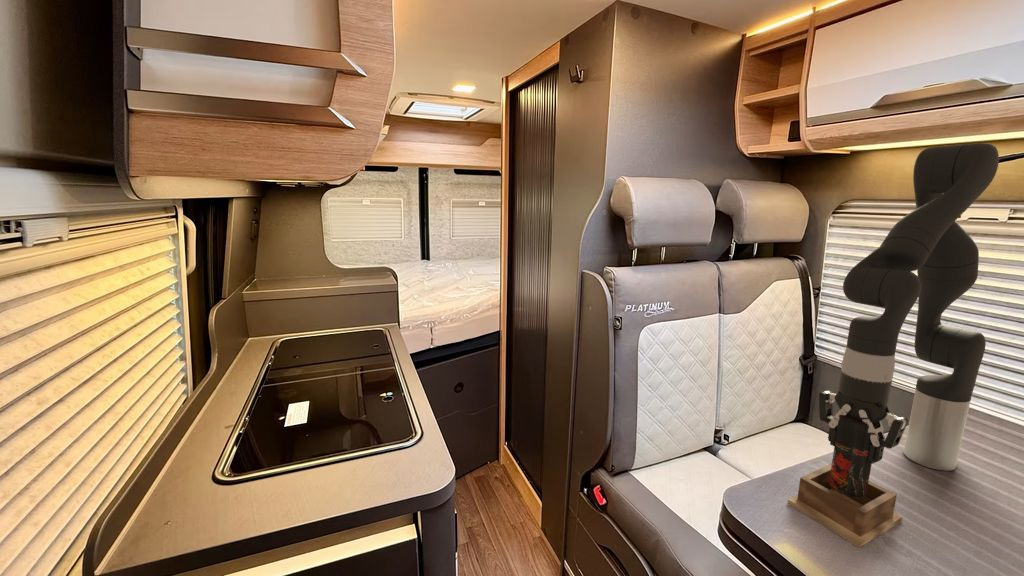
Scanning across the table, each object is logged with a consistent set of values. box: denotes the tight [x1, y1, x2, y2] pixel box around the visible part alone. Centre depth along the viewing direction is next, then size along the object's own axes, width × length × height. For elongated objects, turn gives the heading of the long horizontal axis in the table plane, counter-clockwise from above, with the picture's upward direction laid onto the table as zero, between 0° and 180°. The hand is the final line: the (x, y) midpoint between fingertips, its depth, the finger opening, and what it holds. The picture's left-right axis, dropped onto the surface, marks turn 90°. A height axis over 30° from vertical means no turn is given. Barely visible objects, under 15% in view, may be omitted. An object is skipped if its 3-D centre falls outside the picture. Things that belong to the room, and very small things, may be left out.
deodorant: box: [829, 415, 879, 497], centre depth 84 cm, size 6×6×15 cm
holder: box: [787, 462, 903, 549], centre depth 86 cm, size 15×13×6 cm
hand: (853, 452), depth 84 cm, fingers closed on deodorant, 6 cm apart
